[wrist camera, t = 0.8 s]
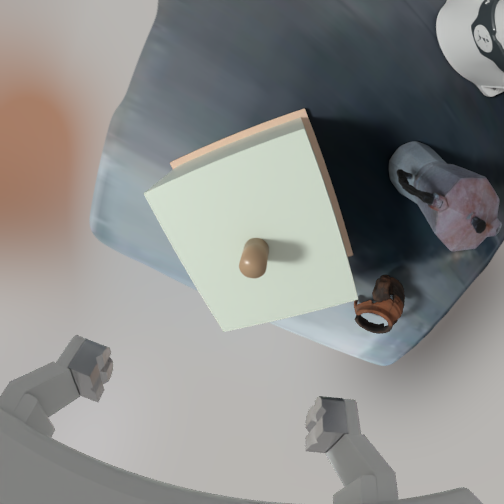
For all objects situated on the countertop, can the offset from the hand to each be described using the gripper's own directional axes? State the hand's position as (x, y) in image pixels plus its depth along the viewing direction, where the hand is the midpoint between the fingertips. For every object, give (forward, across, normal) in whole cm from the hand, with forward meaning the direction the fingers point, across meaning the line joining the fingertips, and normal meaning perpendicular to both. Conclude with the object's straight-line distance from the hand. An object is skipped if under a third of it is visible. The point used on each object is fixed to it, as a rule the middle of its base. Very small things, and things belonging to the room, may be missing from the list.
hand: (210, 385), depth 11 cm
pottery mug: (+40, -26, +17) cm, 51 cm away
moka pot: (+39, -22, -5) cm, 45 cm away
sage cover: (+39, -2, +8) cm, 39 cm away
